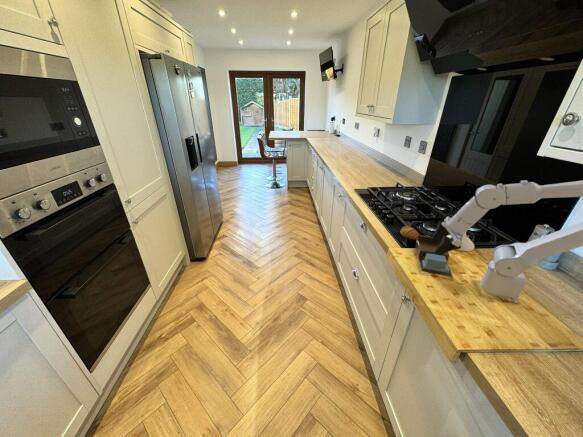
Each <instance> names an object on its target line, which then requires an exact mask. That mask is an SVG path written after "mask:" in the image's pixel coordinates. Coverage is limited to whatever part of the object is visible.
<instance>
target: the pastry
mask: <svg viewBox="0 0 583 437" xmlns="http://www.w3.org/2000/svg"><path fill="white" fill-rule="evenodd" d="M399 233H400V235H401V236H402V237H404V238H405V239H410V240H413V241H417V238H418V235H421V234H420V233H419V232H418V230H416V229H415V228H413V227H411V226H409V225H405V226H403V227H402V228H401V229H400V231H399Z"/></svg>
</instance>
